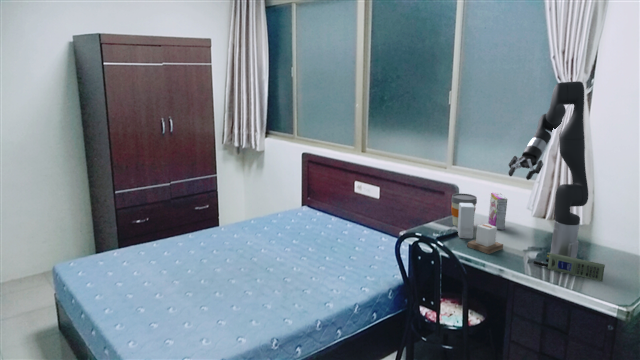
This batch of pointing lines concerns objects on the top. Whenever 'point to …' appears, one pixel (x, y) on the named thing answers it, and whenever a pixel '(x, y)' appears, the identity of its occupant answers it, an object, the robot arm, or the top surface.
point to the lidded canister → (461, 199)
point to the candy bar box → (497, 210)
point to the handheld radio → (574, 266)
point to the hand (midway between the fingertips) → (518, 177)
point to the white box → (486, 234)
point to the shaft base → (485, 247)
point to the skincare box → (466, 220)
